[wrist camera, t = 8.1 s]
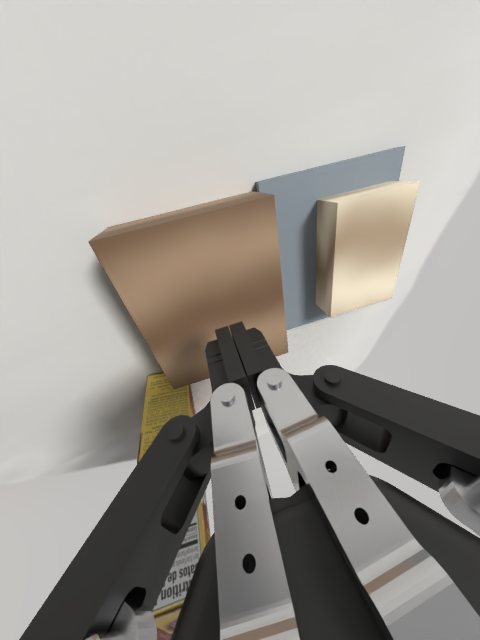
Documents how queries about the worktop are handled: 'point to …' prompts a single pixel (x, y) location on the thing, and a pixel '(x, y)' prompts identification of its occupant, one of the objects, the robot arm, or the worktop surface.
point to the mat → (301, 221)
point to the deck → (198, 278)
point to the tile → (361, 244)
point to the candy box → (156, 413)
